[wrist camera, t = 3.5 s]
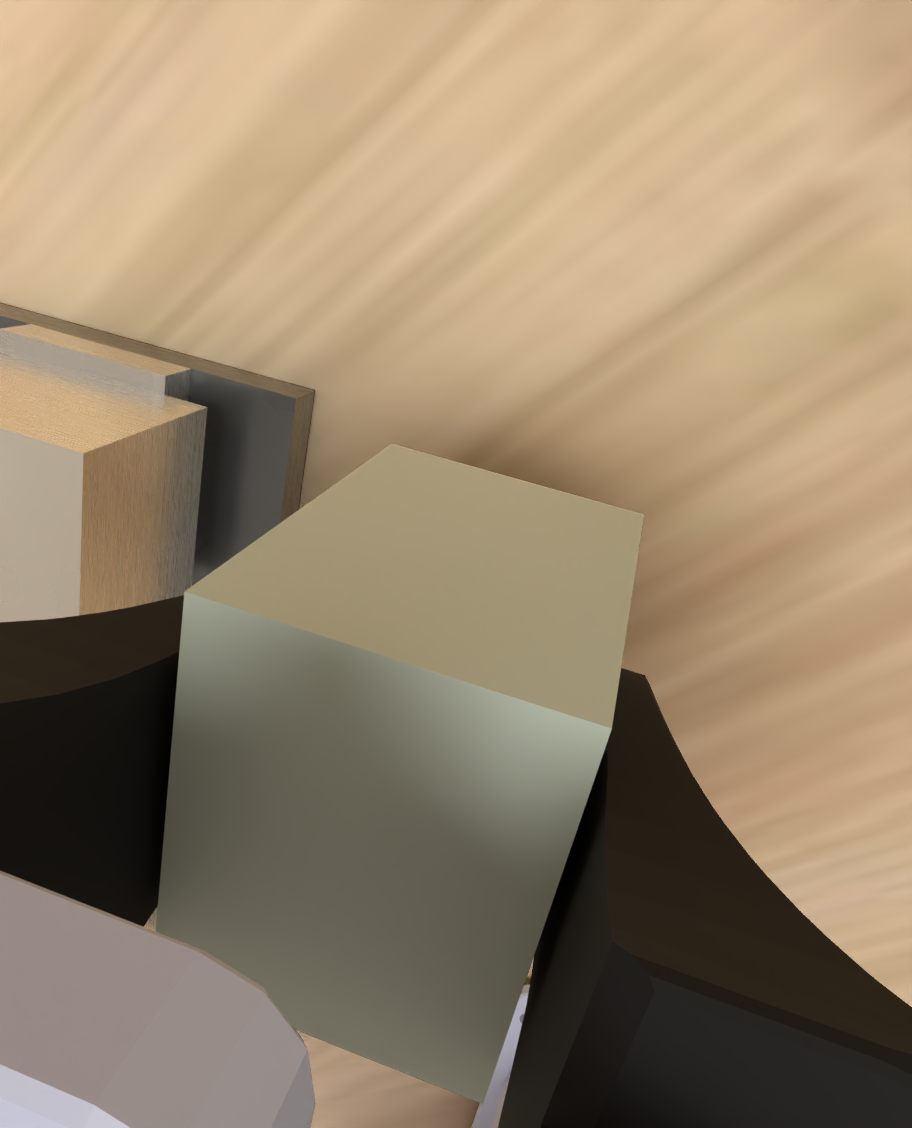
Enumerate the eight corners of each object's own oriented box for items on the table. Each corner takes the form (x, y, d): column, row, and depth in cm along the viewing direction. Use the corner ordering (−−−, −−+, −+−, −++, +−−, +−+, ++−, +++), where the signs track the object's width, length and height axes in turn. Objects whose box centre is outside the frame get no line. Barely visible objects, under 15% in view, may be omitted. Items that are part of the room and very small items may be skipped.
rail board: (238, 929, 26) (121, 1113, 21) (-15, 831, 27) (-189, 980, 22) (314, 390, 19) (166, 454, 14) (-31, 294, 20) (-292, 318, 15)
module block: (558, 780, 15) (482, 1103, 9) (343, 708, 15) (151, 973, 10) (644, 514, 13) (612, 728, 7) (391, 443, 13) (183, 591, 8)
